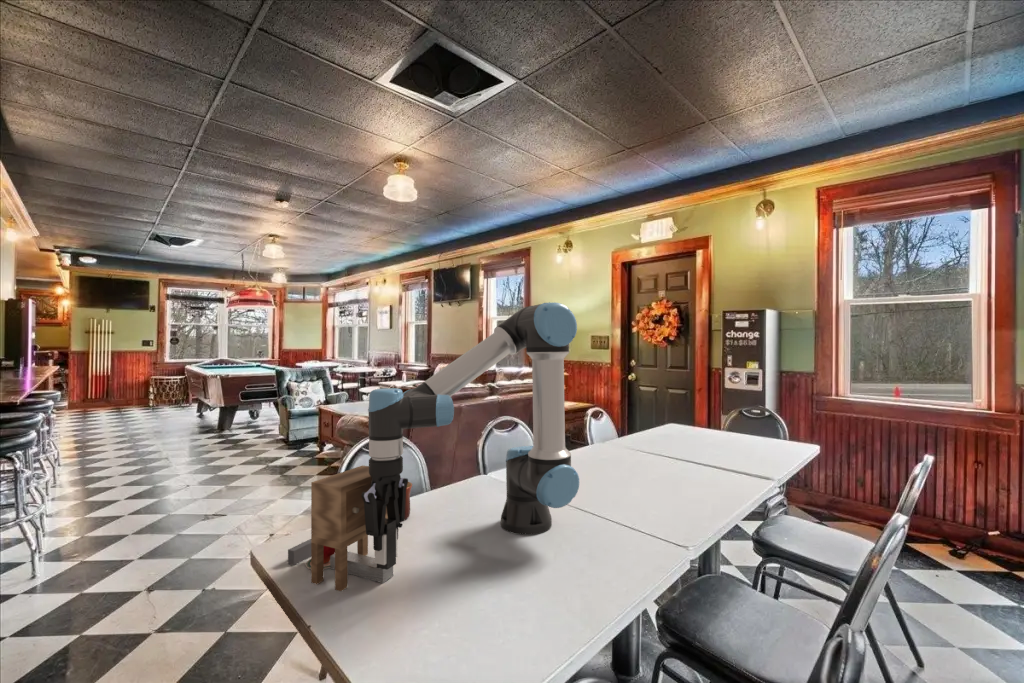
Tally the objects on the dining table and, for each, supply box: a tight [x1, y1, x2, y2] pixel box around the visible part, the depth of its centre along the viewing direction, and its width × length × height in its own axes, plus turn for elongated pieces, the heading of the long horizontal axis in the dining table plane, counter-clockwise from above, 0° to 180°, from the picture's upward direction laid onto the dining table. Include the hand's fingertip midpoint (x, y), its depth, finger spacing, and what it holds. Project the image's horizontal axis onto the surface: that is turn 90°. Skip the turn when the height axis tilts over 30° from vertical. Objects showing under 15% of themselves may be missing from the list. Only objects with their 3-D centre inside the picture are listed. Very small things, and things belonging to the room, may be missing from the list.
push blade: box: [329, 518, 397, 584], centre depth 105 cm, size 17×4×13 cm, turn 65°
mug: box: [399, 481, 413, 521], centre depth 137 cm, size 12×9×10 cm
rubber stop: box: [287, 538, 311, 567], centre depth 113 cm, size 2×8×4 cm, turn 155°
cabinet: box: [310, 464, 388, 592], centre depth 106 cm, size 10×16×22 cm, turn 155°
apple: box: [305, 546, 335, 570], centre depth 110 cm, size 8×8×6 cm
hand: (386, 559), depth 102 cm, fingers closed on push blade, 3 cm apart
